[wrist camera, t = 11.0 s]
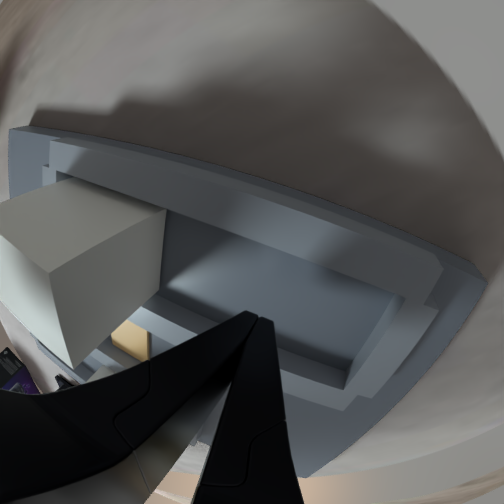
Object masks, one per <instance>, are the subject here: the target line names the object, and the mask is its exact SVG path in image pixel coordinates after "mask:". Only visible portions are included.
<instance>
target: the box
mask: <svg viewBox="0 0 504 504" xmlns="http://www.w3.org/2000/svg"><path fill="white" fill-rule="evenodd" d="M0 389H5V390H9V391H14V392H19V393H24V394H40V392H39V390H38V389H37V387H36V385H35V383H34V381H33V379H32V377H31V375H30V374H29V372H28V370H27V368H26V366H25V365H24V364H23V363H22V362H21V361H20V360H19V359H18V358H17V357H16V356H15V354H13V352H12V351H11V350H10V349H9V348H8V347H6V348H5V349H4V350H3V351H2V352H1V353H0Z"/></svg>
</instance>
